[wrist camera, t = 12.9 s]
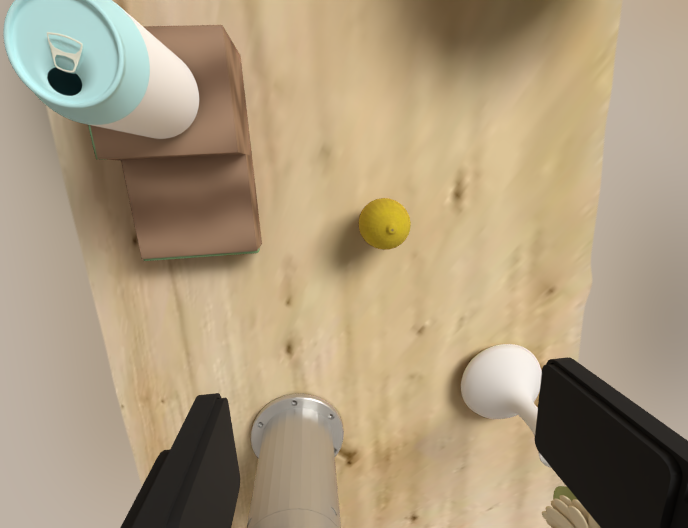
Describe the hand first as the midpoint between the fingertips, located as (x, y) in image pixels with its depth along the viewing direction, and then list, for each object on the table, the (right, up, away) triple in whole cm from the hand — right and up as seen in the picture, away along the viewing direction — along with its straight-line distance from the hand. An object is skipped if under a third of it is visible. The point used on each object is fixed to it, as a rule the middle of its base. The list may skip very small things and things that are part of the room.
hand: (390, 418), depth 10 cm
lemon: (+3, +10, +32) cm, 34 cm away
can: (-17, +19, +20) cm, 32 cm away
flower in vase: (+20, -12, +40) cm, 46 cm away
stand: (-18, +16, +29) cm, 37 cm away
